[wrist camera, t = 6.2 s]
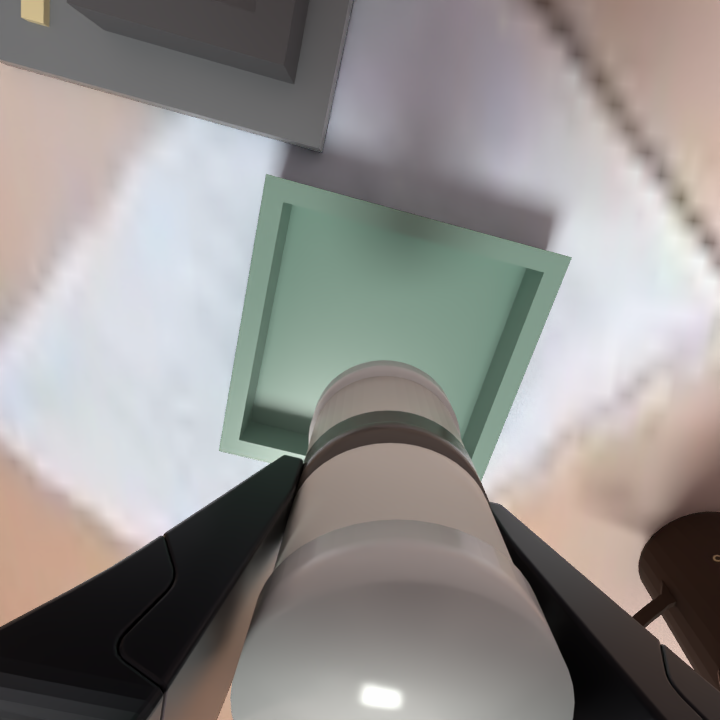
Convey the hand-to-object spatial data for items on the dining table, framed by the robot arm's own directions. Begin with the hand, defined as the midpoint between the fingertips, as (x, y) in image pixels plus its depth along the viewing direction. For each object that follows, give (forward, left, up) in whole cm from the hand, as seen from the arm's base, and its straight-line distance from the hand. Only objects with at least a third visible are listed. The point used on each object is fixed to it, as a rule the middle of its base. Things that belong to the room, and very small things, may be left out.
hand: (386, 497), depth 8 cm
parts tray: (0, 0, -12) cm, 12 cm away
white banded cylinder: (0, 0, -3) cm, 3 cm away
